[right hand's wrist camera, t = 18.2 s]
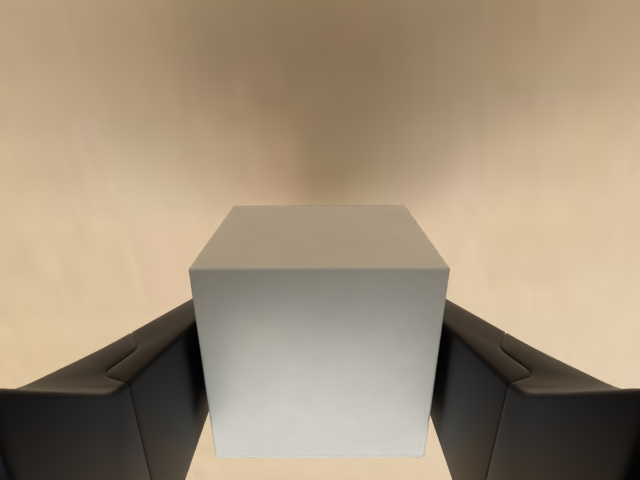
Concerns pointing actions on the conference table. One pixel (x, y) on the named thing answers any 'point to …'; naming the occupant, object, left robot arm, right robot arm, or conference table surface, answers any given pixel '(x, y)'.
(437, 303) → the block
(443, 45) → the conference table surface
